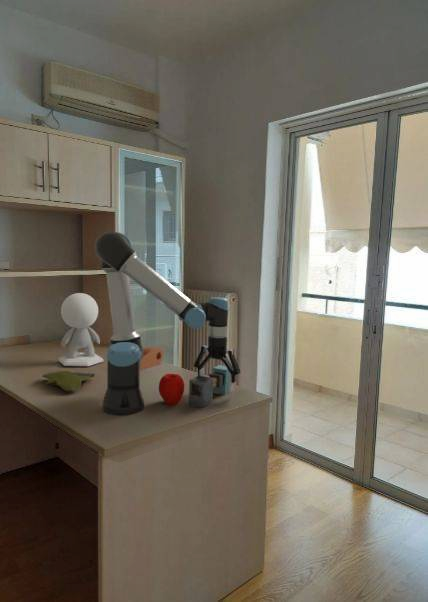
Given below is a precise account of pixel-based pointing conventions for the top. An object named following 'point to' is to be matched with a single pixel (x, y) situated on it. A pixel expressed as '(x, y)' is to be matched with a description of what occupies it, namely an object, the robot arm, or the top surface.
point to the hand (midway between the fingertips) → (216, 387)
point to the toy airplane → (67, 379)
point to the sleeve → (198, 396)
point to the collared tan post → (216, 380)
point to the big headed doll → (80, 330)
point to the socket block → (225, 387)
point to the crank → (151, 357)
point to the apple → (171, 388)
